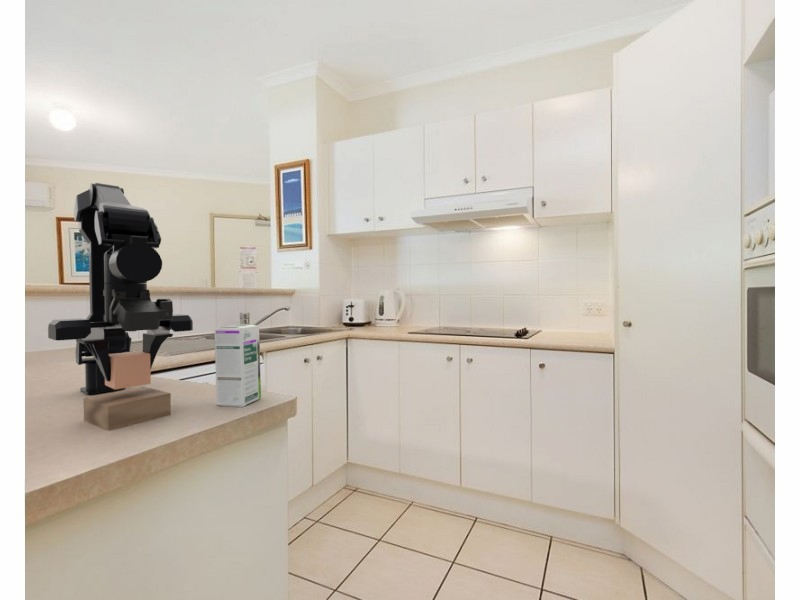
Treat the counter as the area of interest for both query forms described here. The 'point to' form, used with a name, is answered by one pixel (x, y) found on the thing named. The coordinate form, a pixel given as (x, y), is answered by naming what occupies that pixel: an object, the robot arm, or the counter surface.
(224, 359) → the syrup box
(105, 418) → the walnut block
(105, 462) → the counter surface
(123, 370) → the terracotta cube
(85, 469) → the counter surface
